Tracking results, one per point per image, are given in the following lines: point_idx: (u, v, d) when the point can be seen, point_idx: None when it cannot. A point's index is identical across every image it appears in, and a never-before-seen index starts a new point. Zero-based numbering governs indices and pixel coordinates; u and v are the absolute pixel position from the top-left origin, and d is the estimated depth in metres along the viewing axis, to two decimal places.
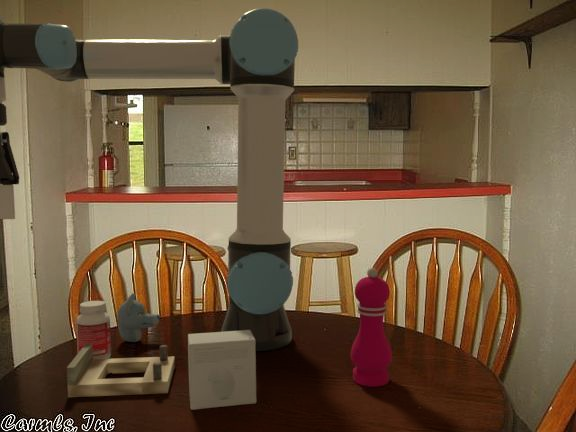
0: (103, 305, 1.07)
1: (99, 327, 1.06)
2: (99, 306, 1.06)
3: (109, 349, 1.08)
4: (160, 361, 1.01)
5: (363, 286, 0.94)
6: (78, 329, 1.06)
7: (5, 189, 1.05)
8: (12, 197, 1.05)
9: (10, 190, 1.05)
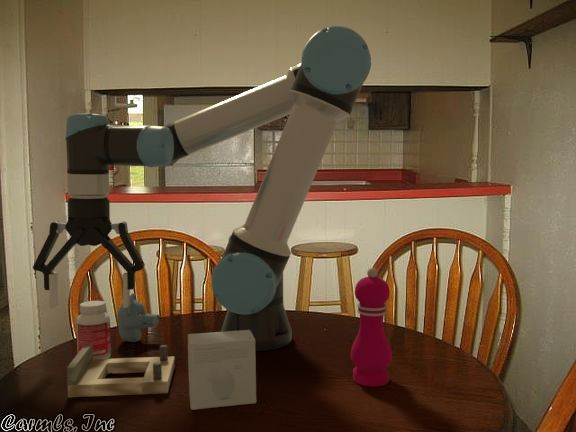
0: (103, 305, 1.07)
1: (99, 327, 1.06)
2: (99, 306, 1.06)
3: (109, 349, 1.08)
4: (160, 361, 1.01)
5: (363, 286, 0.94)
6: (78, 329, 1.06)
7: None
8: (124, 286, 1.07)
9: None
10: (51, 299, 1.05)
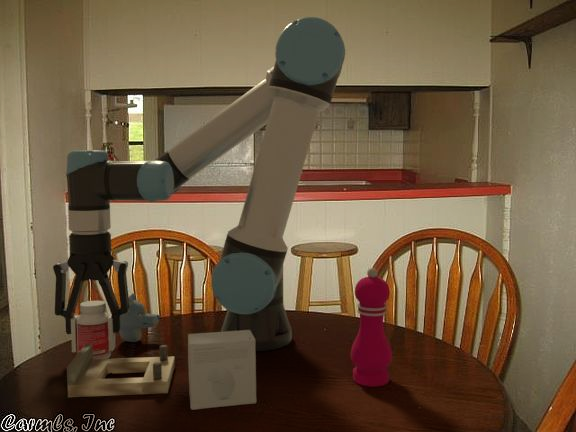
0: (103, 305, 1.07)
1: (99, 327, 1.06)
2: (99, 306, 1.06)
3: None
4: (160, 361, 1.01)
5: (363, 286, 0.94)
6: (78, 329, 1.06)
7: None
8: (109, 330, 1.07)
9: None
10: (73, 343, 1.07)
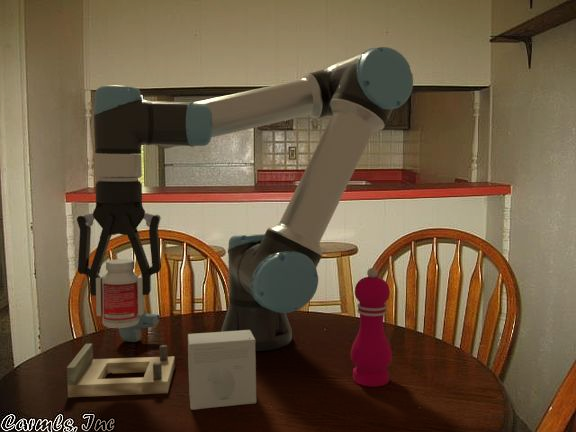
0: (132, 263, 0.95)
1: (128, 287, 0.93)
2: (128, 264, 0.94)
3: None
4: (160, 361, 1.01)
5: (363, 286, 0.94)
6: (104, 289, 0.94)
7: None
8: (139, 291, 0.95)
9: None
10: (98, 306, 0.94)
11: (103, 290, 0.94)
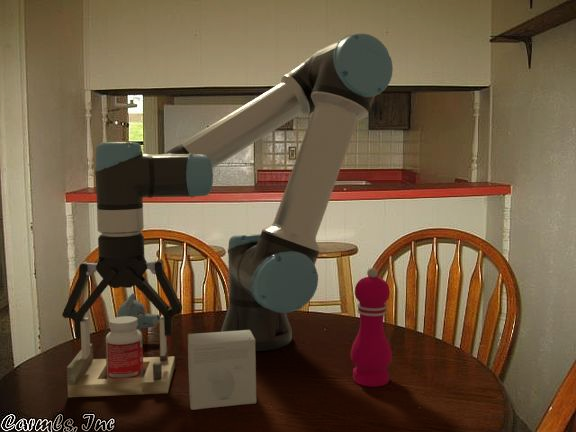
0: (135, 322, 0.96)
1: (132, 347, 0.95)
2: (131, 323, 0.95)
3: (142, 370, 0.97)
4: (160, 361, 1.01)
5: (363, 286, 0.94)
6: (108, 349, 0.95)
7: None
8: (161, 332, 0.96)
9: None
10: (83, 349, 0.95)
11: (107, 349, 0.95)
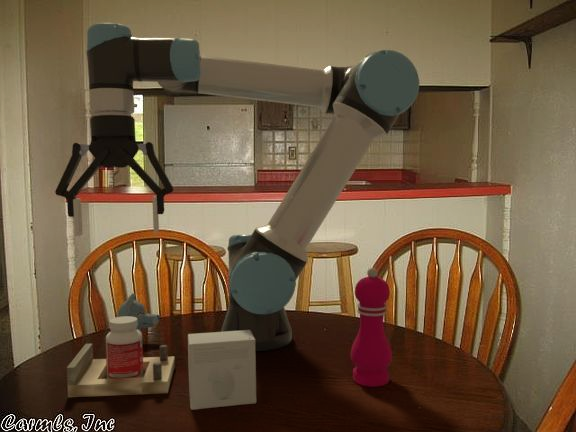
0: (135, 322, 0.96)
1: (132, 347, 0.95)
2: (131, 323, 0.95)
3: (142, 370, 0.97)
4: (160, 361, 1.01)
5: (363, 286, 0.94)
6: (108, 349, 0.95)
7: None
8: (154, 210, 1.00)
9: None
10: (76, 226, 0.98)
11: (107, 349, 0.95)
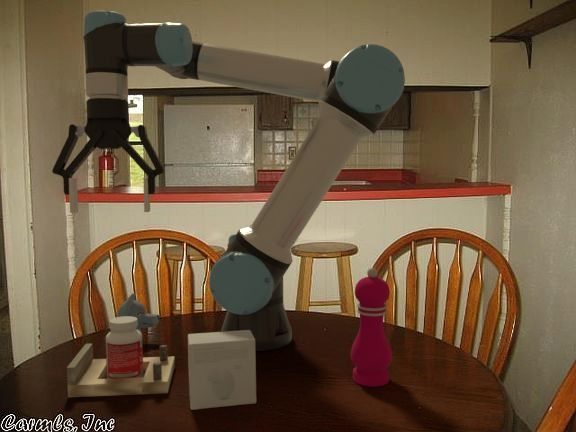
0: (135, 322, 0.96)
1: (132, 347, 0.95)
2: (131, 323, 0.95)
3: (142, 370, 0.97)
4: (160, 361, 1.01)
5: (363, 286, 0.94)
6: (108, 349, 0.95)
7: None
8: (145, 190, 1.05)
9: None
10: (71, 203, 1.04)
11: (107, 349, 0.95)
